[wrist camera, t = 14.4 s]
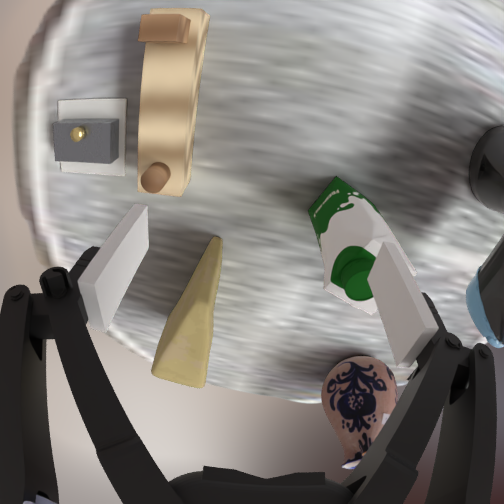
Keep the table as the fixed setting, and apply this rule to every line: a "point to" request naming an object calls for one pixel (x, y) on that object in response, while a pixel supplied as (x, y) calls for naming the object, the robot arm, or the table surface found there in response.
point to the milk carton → (350, 242)
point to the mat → (96, 109)
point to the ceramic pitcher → (358, 403)
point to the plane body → (169, 97)
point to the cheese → (191, 325)
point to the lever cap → (86, 140)
